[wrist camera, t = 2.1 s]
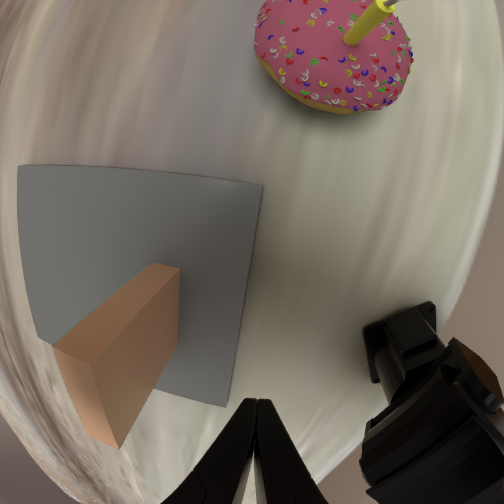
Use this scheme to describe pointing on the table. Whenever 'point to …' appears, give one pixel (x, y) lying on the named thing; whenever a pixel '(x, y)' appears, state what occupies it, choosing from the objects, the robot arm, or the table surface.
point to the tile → (121, 352)
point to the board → (141, 256)
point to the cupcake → (334, 52)
